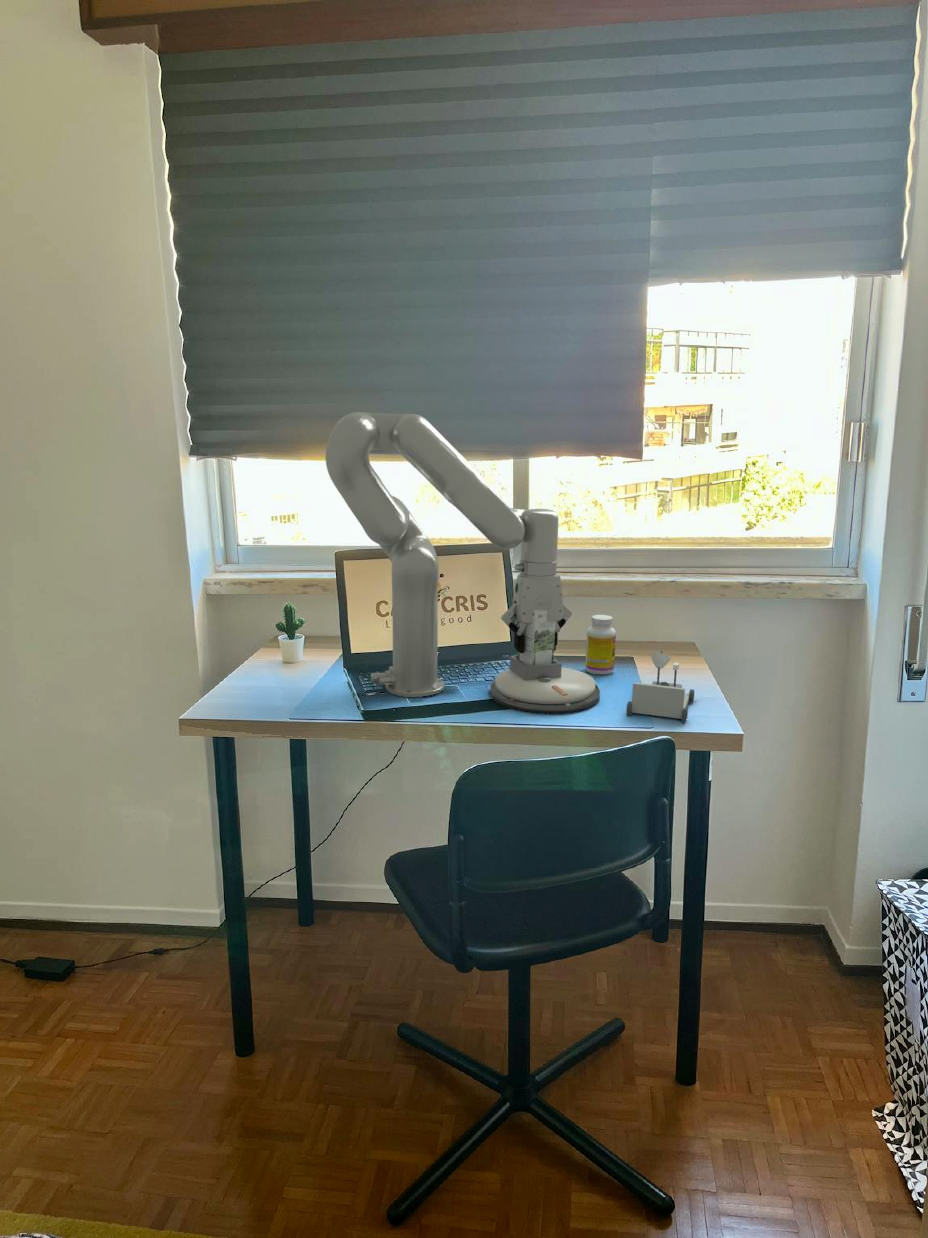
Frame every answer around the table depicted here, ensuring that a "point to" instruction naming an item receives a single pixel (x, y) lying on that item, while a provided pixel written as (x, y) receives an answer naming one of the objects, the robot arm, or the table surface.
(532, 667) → the dial
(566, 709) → the base
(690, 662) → the table surface
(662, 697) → the toy vehicle
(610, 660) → the supplement bottle
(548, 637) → the syrup box
